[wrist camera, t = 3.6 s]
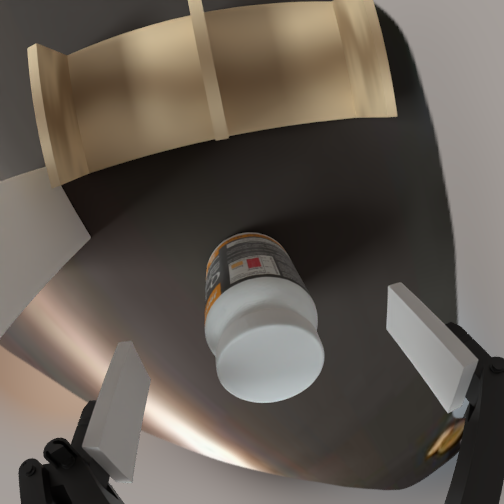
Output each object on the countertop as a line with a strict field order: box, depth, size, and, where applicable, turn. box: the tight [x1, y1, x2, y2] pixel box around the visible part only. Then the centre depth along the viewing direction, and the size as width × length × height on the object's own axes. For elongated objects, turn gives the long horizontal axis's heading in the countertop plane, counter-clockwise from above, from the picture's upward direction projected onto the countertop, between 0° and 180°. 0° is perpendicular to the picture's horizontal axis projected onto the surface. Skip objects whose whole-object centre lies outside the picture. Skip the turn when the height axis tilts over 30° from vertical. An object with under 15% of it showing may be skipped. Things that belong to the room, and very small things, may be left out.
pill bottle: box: [205, 232, 324, 403], centre depth 17 cm, size 6×6×10 cm
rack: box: [27, 0, 397, 188], centre depth 14 cm, size 8×18×5 cm, turn 101°
